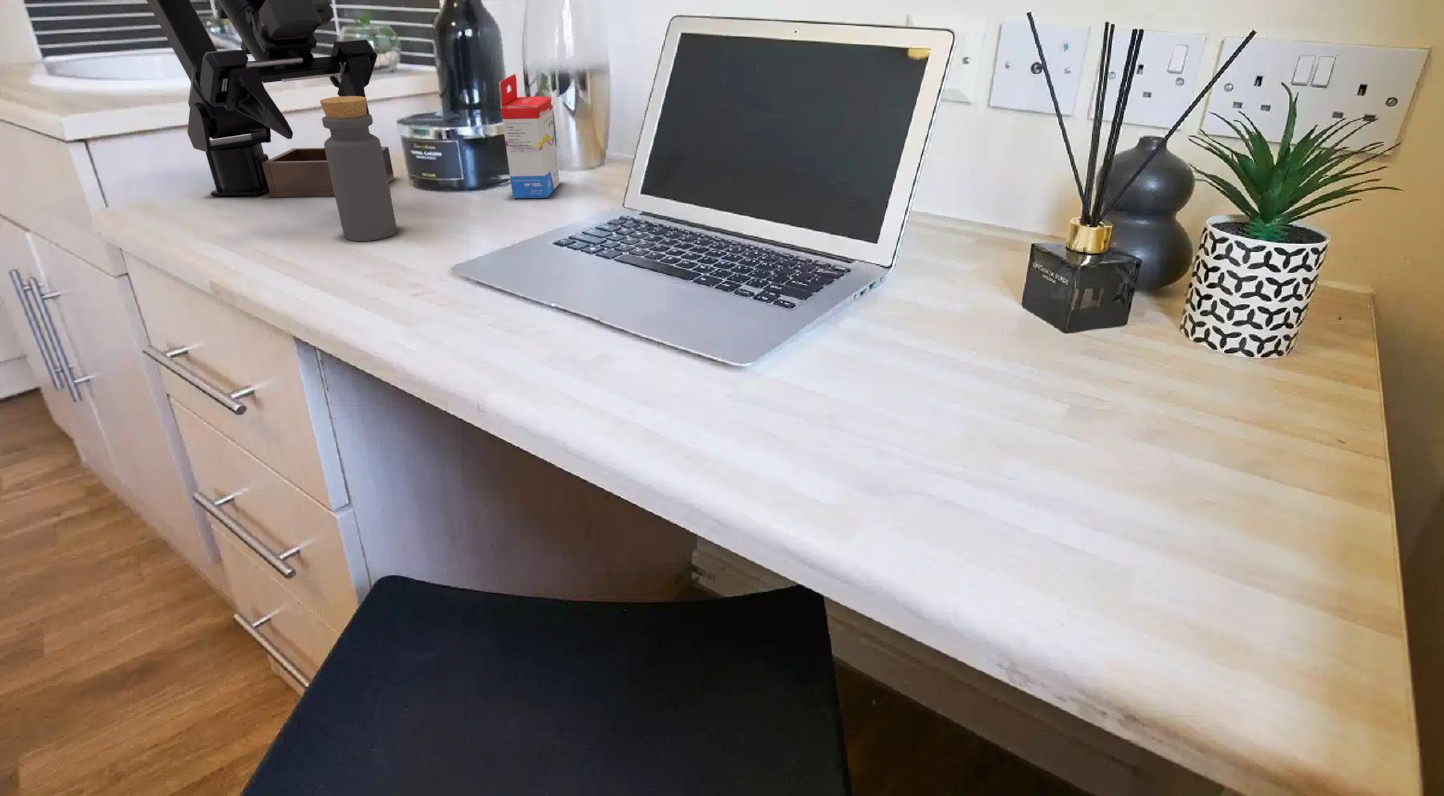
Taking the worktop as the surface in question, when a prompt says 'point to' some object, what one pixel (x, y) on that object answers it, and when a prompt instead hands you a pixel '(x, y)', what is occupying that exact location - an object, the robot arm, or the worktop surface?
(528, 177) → the ink box
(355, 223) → the bottle
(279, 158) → the crate
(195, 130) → the robot arm
